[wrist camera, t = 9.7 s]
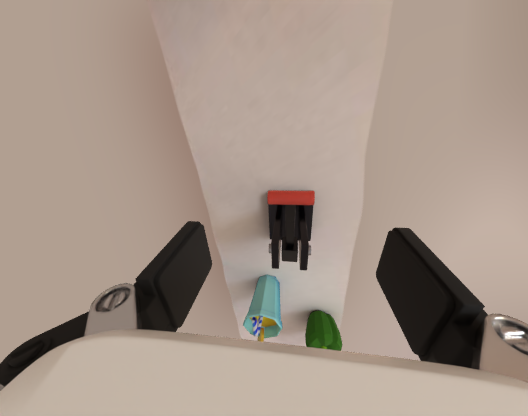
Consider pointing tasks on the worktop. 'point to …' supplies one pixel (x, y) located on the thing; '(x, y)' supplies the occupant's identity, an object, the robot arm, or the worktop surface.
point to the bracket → (300, 231)
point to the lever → (290, 217)
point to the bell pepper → (322, 332)
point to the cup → (265, 309)
